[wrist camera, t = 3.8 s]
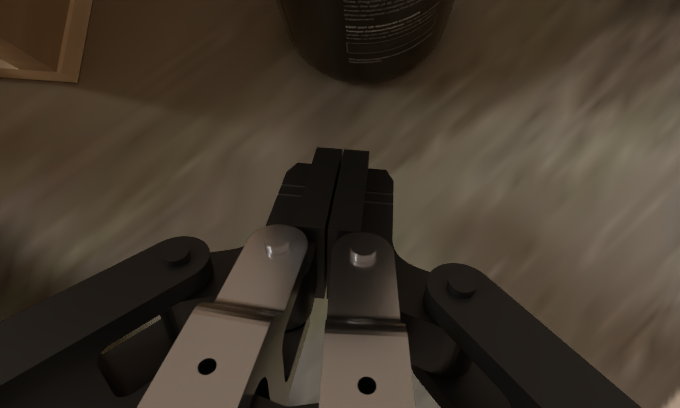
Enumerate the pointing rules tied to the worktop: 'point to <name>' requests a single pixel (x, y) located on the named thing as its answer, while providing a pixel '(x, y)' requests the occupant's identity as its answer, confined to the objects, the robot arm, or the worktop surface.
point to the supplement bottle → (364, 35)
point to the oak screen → (43, 38)
